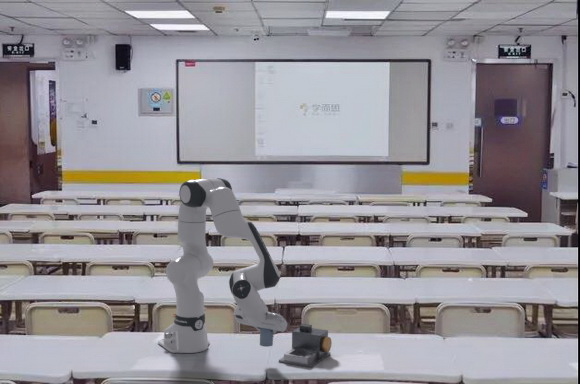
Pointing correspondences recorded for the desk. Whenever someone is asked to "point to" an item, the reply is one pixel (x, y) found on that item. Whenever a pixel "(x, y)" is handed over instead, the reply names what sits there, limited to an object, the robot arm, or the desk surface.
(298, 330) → the gray recessed holder
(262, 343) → the bottle
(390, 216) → the desk surface
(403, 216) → the desk surface
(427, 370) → the desk surface
